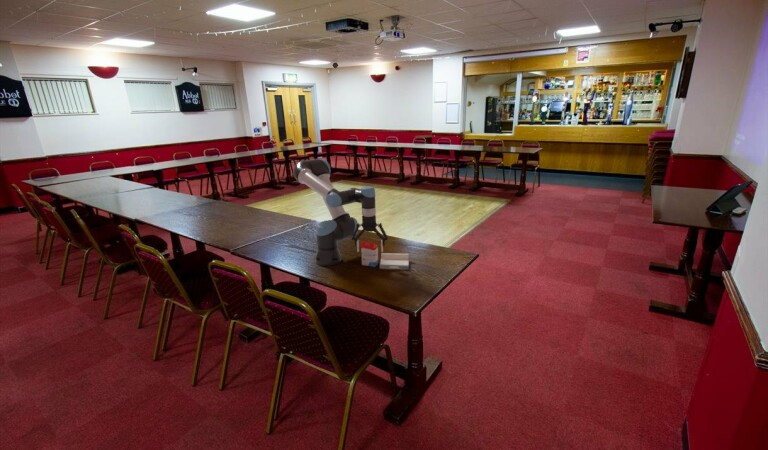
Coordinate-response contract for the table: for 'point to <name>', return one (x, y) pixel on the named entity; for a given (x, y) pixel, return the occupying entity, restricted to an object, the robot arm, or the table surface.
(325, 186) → the robot arm
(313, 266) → the table surface
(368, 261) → the ink box
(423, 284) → the table surface
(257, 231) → the table surface
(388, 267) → the shelf
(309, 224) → the table surface
